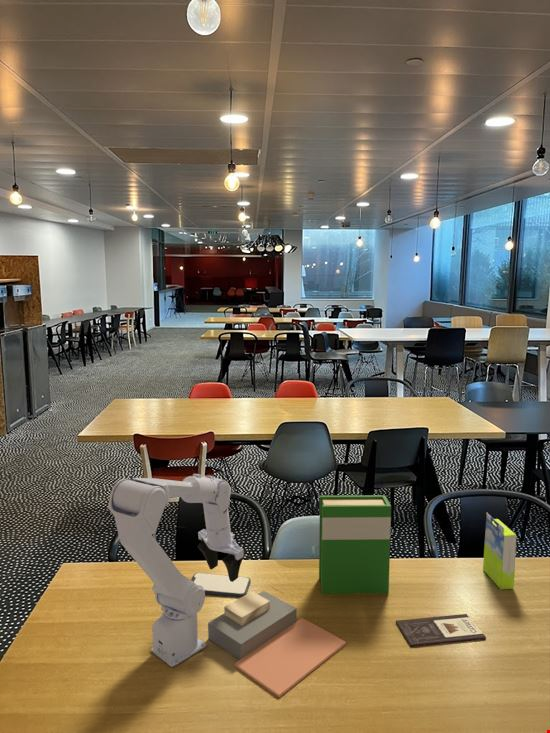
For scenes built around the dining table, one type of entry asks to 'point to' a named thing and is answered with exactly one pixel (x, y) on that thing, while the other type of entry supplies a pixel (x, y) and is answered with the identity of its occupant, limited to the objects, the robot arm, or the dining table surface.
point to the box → (499, 553)
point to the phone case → (222, 585)
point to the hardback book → (354, 544)
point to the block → (252, 628)
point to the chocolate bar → (439, 630)
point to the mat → (289, 656)
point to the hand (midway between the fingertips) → (223, 573)
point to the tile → (247, 608)
